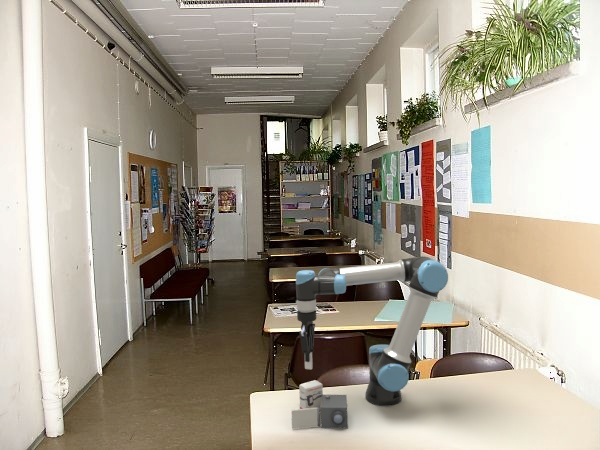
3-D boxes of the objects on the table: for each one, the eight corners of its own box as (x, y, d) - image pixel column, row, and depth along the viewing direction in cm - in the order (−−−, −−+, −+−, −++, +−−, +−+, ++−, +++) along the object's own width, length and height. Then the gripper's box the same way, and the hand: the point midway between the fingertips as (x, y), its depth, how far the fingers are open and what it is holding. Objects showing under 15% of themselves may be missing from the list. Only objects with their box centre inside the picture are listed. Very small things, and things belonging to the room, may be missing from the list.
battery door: (291, 427, 192) (291, 409, 191) (319, 424, 194) (319, 407, 193) (292, 429, 191) (291, 411, 190) (320, 426, 193) (320, 408, 192)
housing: (346, 414, 203) (346, 392, 203) (347, 430, 190) (347, 408, 189) (321, 413, 204) (321, 392, 203) (320, 430, 190) (320, 407, 190)
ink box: (306, 417, 202) (305, 388, 201) (299, 412, 206) (298, 384, 205) (323, 411, 206) (323, 383, 205) (316, 407, 210) (316, 379, 210)
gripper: (303, 305, 206) (305, 362, 208) (291, 313, 194) (294, 373, 196) (320, 306, 204) (322, 363, 206) (310, 314, 191) (312, 375, 193)
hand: (308, 368), depth 201 cm, fingers closed
